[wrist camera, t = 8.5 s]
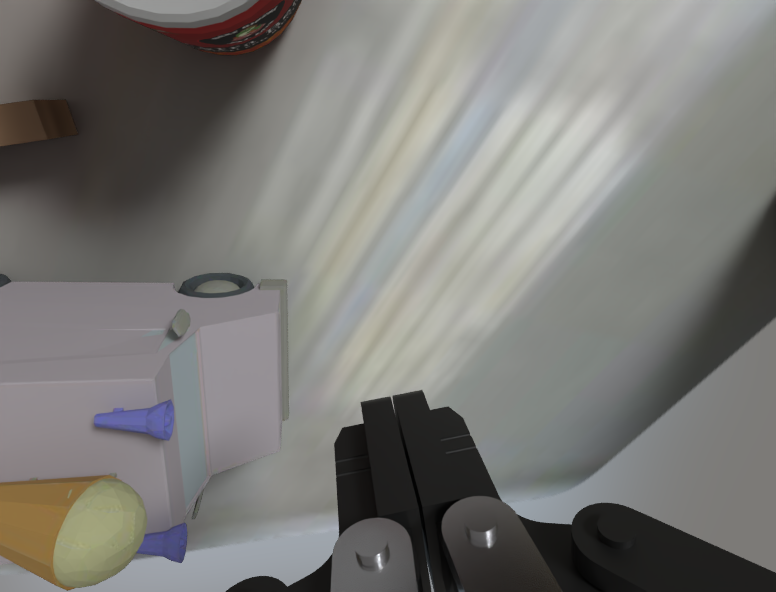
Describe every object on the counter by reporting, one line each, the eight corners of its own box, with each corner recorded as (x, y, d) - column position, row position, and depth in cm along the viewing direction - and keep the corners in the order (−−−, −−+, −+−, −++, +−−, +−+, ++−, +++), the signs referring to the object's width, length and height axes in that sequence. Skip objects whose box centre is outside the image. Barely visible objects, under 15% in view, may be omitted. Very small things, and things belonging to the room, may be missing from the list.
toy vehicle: (289, 403, 30) (280, 661, 16) (-84, 416, 27) (-492, 756, 13) (288, 254, 27) (274, 422, 13) (-138, 249, 23) (-764, 466, 10)
